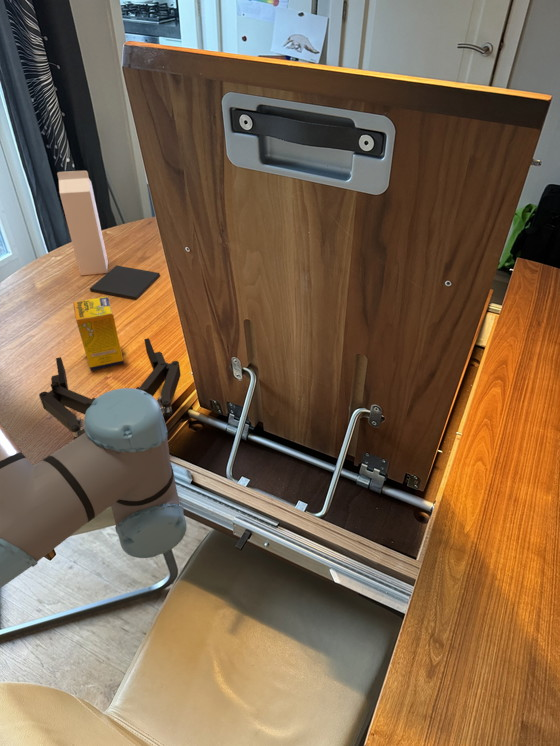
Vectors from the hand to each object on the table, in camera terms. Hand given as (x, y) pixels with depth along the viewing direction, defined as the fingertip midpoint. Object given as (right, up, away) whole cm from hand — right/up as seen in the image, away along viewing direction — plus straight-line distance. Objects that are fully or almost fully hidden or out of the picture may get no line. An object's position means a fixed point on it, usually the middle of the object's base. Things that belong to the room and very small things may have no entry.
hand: (105, 354), depth 83 cm
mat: (-6, +17, +32) cm, 36 cm away
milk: (-15, +21, +37) cm, 45 cm away
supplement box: (-4, 0, +11) cm, 12 cm away
